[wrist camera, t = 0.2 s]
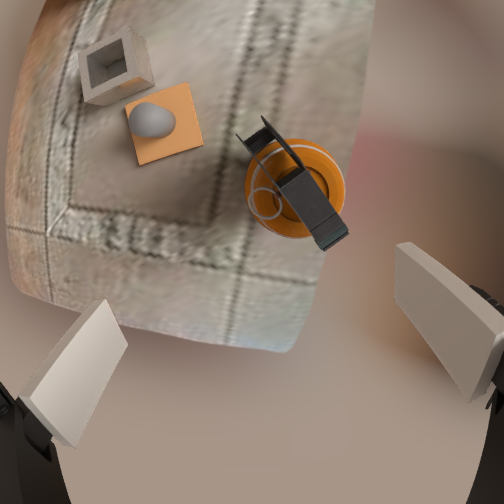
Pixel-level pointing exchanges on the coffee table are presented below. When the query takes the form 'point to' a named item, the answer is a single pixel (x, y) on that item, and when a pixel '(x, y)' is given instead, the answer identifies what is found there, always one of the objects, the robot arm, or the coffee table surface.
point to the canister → (295, 188)
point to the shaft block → (164, 124)
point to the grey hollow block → (106, 52)
